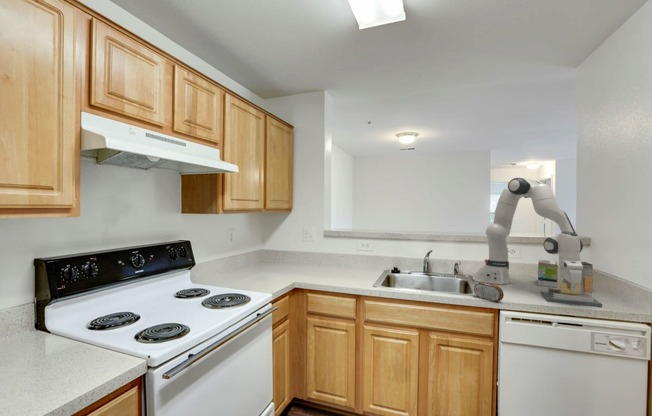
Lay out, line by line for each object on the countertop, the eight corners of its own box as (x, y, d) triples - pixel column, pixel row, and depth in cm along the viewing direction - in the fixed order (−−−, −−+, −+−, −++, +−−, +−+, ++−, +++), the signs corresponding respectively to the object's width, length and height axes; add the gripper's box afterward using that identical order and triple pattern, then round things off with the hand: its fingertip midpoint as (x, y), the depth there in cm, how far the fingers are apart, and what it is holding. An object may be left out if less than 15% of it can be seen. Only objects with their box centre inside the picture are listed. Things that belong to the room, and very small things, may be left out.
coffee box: (573, 287, 184) (573, 261, 184) (586, 288, 181) (585, 261, 182) (579, 290, 175) (579, 263, 175) (593, 291, 173) (593, 264, 173)
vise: (547, 301, 154) (547, 293, 154) (540, 294, 167) (540, 287, 167) (602, 307, 145) (602, 299, 145) (590, 299, 158) (590, 291, 158)
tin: (504, 302, 153) (503, 286, 153) (500, 303, 151) (500, 287, 151) (476, 295, 166) (476, 280, 166) (473, 296, 164) (473, 281, 164)
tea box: (557, 288, 181) (557, 264, 182) (537, 285, 187) (537, 262, 188) (557, 283, 193) (557, 260, 193) (538, 281, 199) (538, 259, 200)
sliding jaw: (548, 293, 164) (548, 274, 164) (547, 291, 166) (546, 273, 166) (592, 297, 156) (592, 277, 156) (590, 295, 159) (590, 276, 159)
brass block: (580, 299, 152) (580, 284, 152) (561, 298, 156) (561, 282, 156) (577, 297, 156) (577, 282, 156) (559, 296, 159) (559, 281, 159)
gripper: (556, 259, 167) (556, 284, 167) (568, 265, 148) (568, 293, 148) (570, 260, 164) (570, 285, 164) (584, 266, 146) (584, 294, 145)
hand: (569, 289), depth 156 cm, fingers open, 8 cm apart
